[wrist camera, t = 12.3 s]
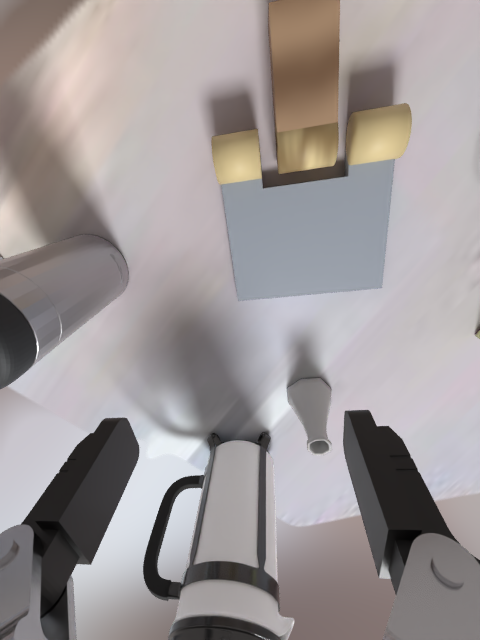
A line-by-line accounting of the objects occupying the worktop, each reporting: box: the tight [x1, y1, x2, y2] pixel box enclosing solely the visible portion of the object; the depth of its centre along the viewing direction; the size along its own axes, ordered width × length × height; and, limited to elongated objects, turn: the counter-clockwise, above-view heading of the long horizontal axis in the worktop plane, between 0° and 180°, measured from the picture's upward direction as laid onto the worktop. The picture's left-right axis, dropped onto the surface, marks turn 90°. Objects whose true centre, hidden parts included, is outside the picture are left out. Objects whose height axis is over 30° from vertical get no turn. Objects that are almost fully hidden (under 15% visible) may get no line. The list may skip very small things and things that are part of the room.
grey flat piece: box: [212, 103, 412, 301], centre depth 31 cm, size 18×18×4 cm
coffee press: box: [143, 432, 294, 640], centre depth 40 cm, size 17×16×30 cm
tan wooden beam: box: [268, 0, 340, 174], centre depth 26 cm, size 12×6×4 cm, turn 8°
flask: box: [287, 378, 331, 455], centre depth 41 cm, size 7×7×10 cm
